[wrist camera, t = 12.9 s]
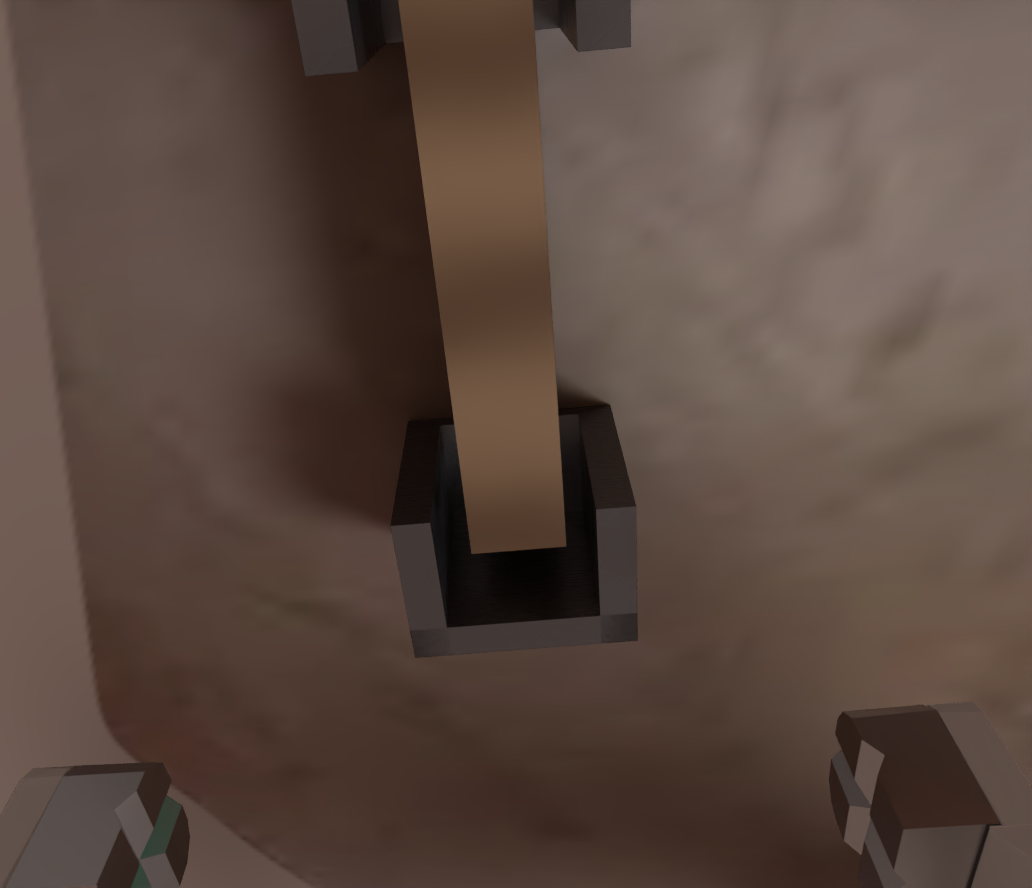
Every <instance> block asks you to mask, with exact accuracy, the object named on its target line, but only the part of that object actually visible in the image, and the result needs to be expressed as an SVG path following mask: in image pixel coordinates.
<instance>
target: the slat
mask: <svg viewBox="0 0 1032 888" xmlns="http://www.w3.org/2000/svg"><path fill="white" fill-rule="evenodd" d="M398 2H399V10H400V17H401V25H402V32H403V40H404V47H405V55H406V62H407V70H408V78H409V85H410V93H411V100H412V108H413V115H414V123H415V131H416V138H417V146H418V153H419V161H420V168H421V176H422V183H423V191H424V199H425V206H426V214H427V221H428V229H429V236H430V244H431V251H432V259H433V267H434V274H435V282H436V289H437V297H438V304H439V312H440V320H441V327H442V335H443V342H444V350H445V357H446V365H447V372H448V380H449V388H450V395H451V403H452V410H453V418H454V425H455V433H456V440H457V448H458V456H459V463H460V471H461V478H462V486H463V493H464V501H465V508H466V516H467V524H468V531H469V539H470V546H471V554H478V553H490V552H503V551H516V550H528V549H541V548H553V547H566V531H565V515H564V498H563V482H562V466H561V450H560V434H559V418H558V402H557V385H556V369H555V353H554V337H553V321H552V305H551V288H550V272H549V256H548V240H547V224H546V208H545V191H544V175H543V159H542V143H541V127H540V111H539V94H538V78H537V62H536V46H535V30H534V14H533V0H398Z"/></svg>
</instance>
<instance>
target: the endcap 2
mask: <svg viewBox="0 0 1032 888" xmlns="http://www.w3.org/2000/svg"><path fill="white" fill-rule="evenodd" d="M558 418H559V434H560V450H561V466H562V482H563V498H564V515H565V531H566V547H553V548H541V549H528V550H516V551H503V552H490V553H478V554H471V546H470V539H469V531H468V524H467V516H466V508H465V501H464V493H463V486H462V478H461V471H460V463H459V456H458V448H457V440H456V433H455V425H454V418H446V419H434V420H422V421H410V422H408V425H407V431H406V437H405V443H404V449H403V455H402V461H401V467H400V473H399V478H398V484H397V490H396V496H395V502H394V508H393V514H392V520H391V526H390V527H391V532H392V537H393V542H394V548H395V553H396V558H397V564H398V569H399V574H400V579H401V585H402V590H403V595H404V601H405V606H406V611H407V617H408V622H409V627H410V632H411V638H412V643H413V648H414V654H415V658H419V657H432V656H445V655H457V654H470V653H483V652H496V651H509V650H522V649H535V648H548V647H560V646H573V645H586V644H599V643H612V642H625V641H638V630H637V541H636V504H635V500H634V496H633V492H632V488H631V484H630V481H629V477H628V473H627V469H626V465H625V461H624V457H623V453H622V449H621V445H620V442H619V438H618V434H617V430H616V426H615V422H614V418H613V414H612V410H611V406H610V405H604V406H592V407H580V408H567V409H558Z"/></svg>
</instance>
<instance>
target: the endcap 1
mask: <svg viewBox="0 0 1032 888" xmlns="http://www.w3.org/2000/svg"><path fill="white" fill-rule="evenodd" d="M291 3H292V8H293V14H294V19H295V24H296V29H297V35H298V40H299V45H300V51H301V56H302V61H303V66H304V72H305V76H315V75H326V74H337V73H348V72H358V71H359V70H360V69H361V68H362V67H363V66H364V65H365V64H366V63H367V62H368V61H369V60H370V59H371V58H372V57H373V56H374V55H375V54H376V53H377V52H378V51H379V50H380V49H381V48H382V47H383V46H384V45H385V44H386V43H397V42H404V40H403V32H402V25H401V17H400V10H399V2H398V0H291ZM533 14H534V30H540V29H551V28H560V29H561V30H562V32H563V33H564V34H565V36H566V37H567V38H568V40H569V41H570V42H571V43H572V45H573V46H574V47H575V49H576V50H577V51H578V52H581V51H592V50H603V49H614V48H625V47H631V9H630V0H533Z"/></svg>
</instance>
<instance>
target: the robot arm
mask: <svg viewBox="0 0 1032 888" xmlns="http://www.w3.org/2000/svg"><path fill="white" fill-rule="evenodd" d="M835 734H836V737H837V739H838V742H839V744H840V746H841V749H842V750H841V751H840V752H839V753H837V754H836V755H835V756H834V757H833V758H832V759H831V766H830V775H829V783H830V793H831V802H832V806H833V810H834V814H835V817H836V821H837V824H838V826H839V829H840V832H841V835H842V837H843V840H844V841H845V842H846V843H847V844H848V845H849V846H851V847H852V848H853V849H854V850H856V851H857V852H858V853H859V854H860V855H862V856H861V861H860V867H859V872H858V879H859V881H860V884H861V886H862V888H1032V787H1031V785H1030V784H1029V782H1028V781H1027V779H1026V778H1025V776H1024V775H1023V773H1022V771H1021V770H1020V768H1019V767H1018V765H1017V764H1016V762H1015V761H1014V759H1013V757H1012V756H1011V754H1010V753H1009V751H1008V750H1007V748H1006V747H1005V745H1004V744H1003V742H1002V740H1001V739H1000V737H999V736H998V734H997V733H996V731H995V730H994V728H993V726H992V725H991V723H990V722H989V720H988V719H987V717H986V716H985V714H984V712H983V711H982V709H981V708H980V707H978V706H977V705H976V704H974V703H973V702H961V703H947V704H934V705H927V706H925V705H913V706H901V707H889V708H877V709H866V710H854V711H843V712H842V713H841V715H840V716H839V718H838V720H837V726H836V732H835ZM171 781H172V780H171V778H170V776H169V774H168V772H167V770H166V768H165V766H164V764H163V763H157V762H150V763H127V764H105V765H83V766H69V767H53V768H52V767H51V768H34V769H32V770H31V771H30V772H29V773H28V774H27V775H25V776H24V777H23V778H22V779H21V780H20V781H19V783H18V785H17V787H16V788H15V790H14V792H13V794H12V795H11V797H10V799H9V801H8V803H7V804H6V806H5V808H4V809H3V811H2V813H1V815H0V888H179V887H180V884H181V881H182V878H183V875H184V871H185V868H186V865H187V859H188V850H189V841H190V834H189V827H188V819H187V817H186V814H185V812H184V809H183V806H182V805H181V804H179V803H178V802H176V801H175V800H173V799H172V798H170V797H168V796H167V792H168V789H169V787H170V784H171Z"/></svg>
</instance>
